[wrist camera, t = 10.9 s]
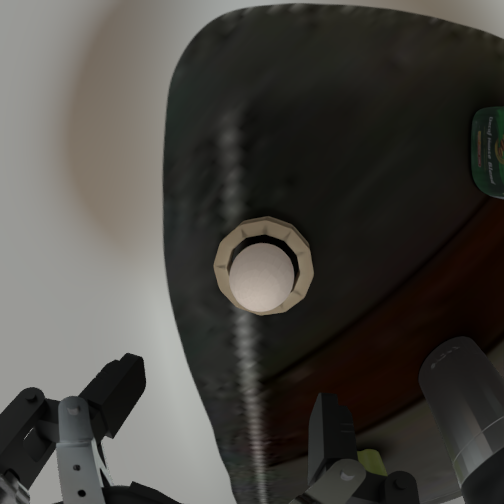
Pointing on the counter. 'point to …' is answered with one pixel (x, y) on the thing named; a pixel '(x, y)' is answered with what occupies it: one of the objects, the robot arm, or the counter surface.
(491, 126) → the coffee jar
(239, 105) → the counter surface
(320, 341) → the counter surface
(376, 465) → the plant pot
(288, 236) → the egg holder
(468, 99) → the counter surface
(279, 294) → the egg
